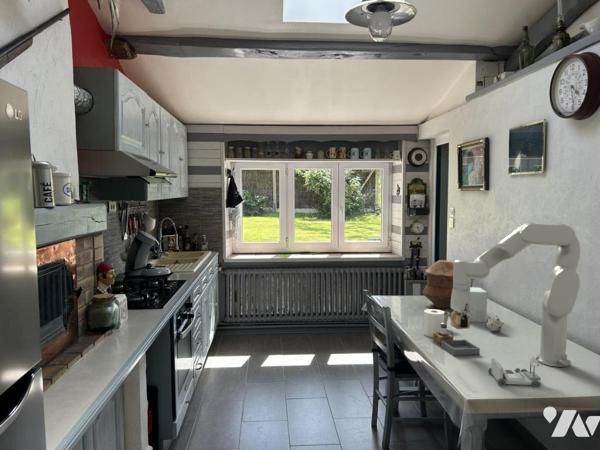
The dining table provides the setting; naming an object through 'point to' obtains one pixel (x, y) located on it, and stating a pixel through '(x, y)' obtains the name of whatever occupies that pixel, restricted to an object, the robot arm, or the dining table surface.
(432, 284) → the pottery vessel
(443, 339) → the square wooden socket
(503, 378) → the toy car
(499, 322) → the game die
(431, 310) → the toilet paper
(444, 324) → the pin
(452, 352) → the tray
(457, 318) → the oak block
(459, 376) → the dining table surface
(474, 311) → the supplement box
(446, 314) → the flower pot
